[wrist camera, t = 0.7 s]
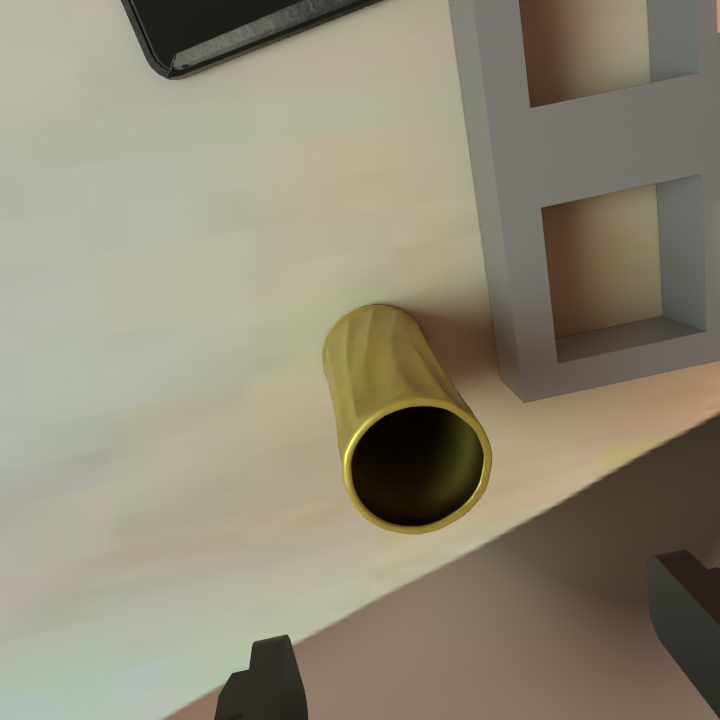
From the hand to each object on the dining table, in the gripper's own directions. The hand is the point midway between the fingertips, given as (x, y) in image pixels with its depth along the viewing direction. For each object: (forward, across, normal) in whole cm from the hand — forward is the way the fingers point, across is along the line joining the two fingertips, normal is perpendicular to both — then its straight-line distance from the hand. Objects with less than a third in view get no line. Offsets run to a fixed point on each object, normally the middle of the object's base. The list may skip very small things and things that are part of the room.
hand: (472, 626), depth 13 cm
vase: (+22, 0, 0) cm, 22 cm away
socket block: (+22, -15, -9) cm, 28 cm away
